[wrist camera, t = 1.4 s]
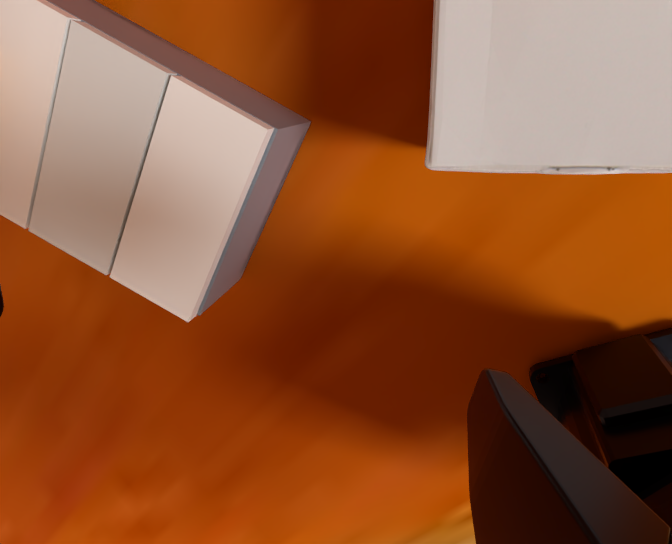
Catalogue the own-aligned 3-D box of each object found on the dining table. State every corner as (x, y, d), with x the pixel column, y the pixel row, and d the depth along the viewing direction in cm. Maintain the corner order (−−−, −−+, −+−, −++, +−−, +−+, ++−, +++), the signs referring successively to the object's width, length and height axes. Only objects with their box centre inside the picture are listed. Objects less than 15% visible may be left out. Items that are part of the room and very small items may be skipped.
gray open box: (311, 121, 19) (277, 129, 15) (240, 278, 22) (199, 315, 19) (76, -10, 19) (-11, -32, 16) (41, 165, 23) (-38, 179, 19)
